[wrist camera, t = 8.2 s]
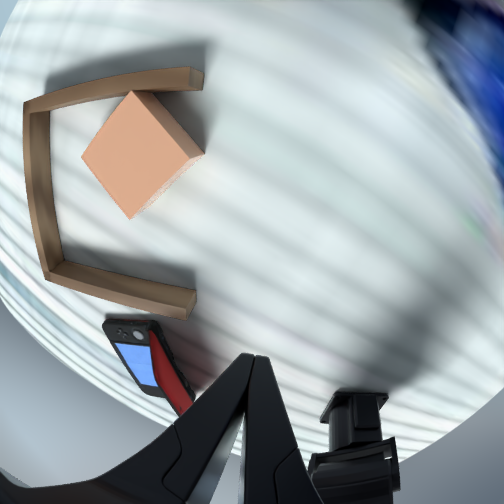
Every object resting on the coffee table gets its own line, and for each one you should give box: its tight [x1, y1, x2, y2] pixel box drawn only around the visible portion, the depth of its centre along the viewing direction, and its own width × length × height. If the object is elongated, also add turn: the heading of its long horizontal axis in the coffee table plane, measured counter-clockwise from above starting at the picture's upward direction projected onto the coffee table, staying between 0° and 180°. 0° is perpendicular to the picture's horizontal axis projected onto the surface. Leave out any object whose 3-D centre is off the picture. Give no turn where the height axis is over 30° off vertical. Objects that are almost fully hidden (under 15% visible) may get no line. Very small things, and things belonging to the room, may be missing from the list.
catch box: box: [23, 67, 204, 321], centre depth 18 cm, size 17×16×2 cm
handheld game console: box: [102, 319, 196, 417], centre depth 24 cm, size 12×11×7 cm
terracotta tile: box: [81, 90, 204, 220], centre depth 16 cm, size 6×6×3 cm
